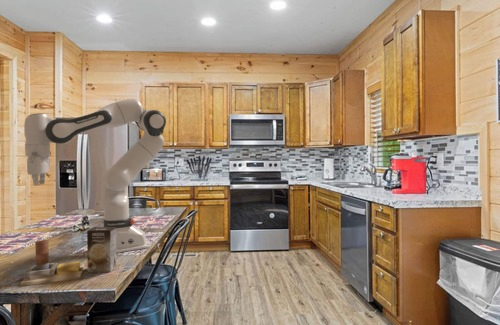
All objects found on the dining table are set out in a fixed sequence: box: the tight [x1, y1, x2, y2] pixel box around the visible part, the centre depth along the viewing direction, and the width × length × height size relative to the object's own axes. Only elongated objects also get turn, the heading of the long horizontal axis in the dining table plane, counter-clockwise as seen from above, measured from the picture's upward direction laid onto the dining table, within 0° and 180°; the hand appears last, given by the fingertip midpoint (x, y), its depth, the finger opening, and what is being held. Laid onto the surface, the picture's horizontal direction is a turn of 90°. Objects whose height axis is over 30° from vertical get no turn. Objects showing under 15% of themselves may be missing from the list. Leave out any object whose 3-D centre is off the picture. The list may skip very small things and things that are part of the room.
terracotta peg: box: [35, 239, 50, 271], centre depth 117 cm, size 4×4×12 cm
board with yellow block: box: [20, 260, 85, 287], centre depth 119 cm, size 18×14×4 cm
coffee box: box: [86, 226, 117, 273], centre depth 125 cm, size 9×6×16 cm
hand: (39, 184), depth 136 cm, fingers open, 8 cm apart
